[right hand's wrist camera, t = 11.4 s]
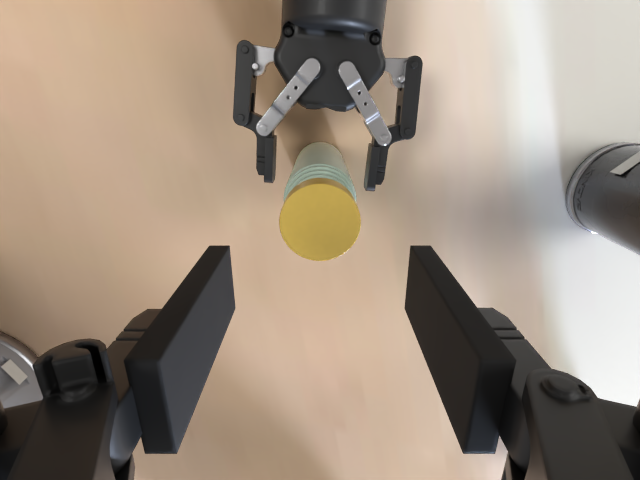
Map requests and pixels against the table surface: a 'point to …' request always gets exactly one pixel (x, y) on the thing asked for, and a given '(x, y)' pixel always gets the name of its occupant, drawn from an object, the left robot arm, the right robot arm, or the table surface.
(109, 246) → the table surface
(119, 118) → the table surface
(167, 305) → the right robot arm
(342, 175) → the bottle
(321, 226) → the cap
